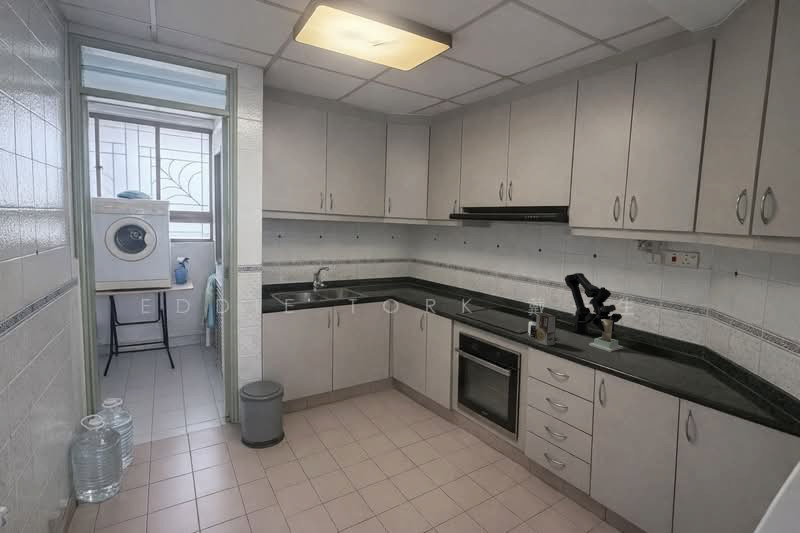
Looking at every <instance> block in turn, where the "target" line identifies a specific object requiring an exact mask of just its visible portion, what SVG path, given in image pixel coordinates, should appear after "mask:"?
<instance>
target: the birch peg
mask: <svg viewBox="0 0 800 533" xmlns="http://www.w3.org/2000/svg"><path fill="white" fill-rule="evenodd" d="M612 323H613V320H610V319H603V322H602V325H603V327H604V330H605V331H604V332H603V331H602V330H601V332H602V333H601V337H602V340H603V341H606V342H611V339H612V333H613V332H612Z"/></svg>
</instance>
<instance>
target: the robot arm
mask: <svg viewBox="0 0 800 533" xmlns="http://www.w3.org/2000/svg"><path fill="white" fill-rule="evenodd" d="M564 282H565V284H566V286H567V287H568V288H570V291H571V294H572V297H573V301H574V304H575V307H576V310H575V314H574V316H573V318H572V322H573V323H574V330H573V331H572V332H573V333H576V334H579V335H585V334H589V332H588V328H589V326H588V325H589V324H593V325H594V326H596V327H597V328H598V329H600V330H601V332H602V331H603V332H604V331H605V330H604V327H603V322H602V320H604V319H610V320H613V323H612V333H614V332H615V323H618V322H619V321H620V320H621V319H622V318H623V316H622V314H621V313H617V312H616V313H612V312H614V311H616V310H617V309H616V305H615V304H610V305H605V304H604V303H606V301H607V300H608V299H609V298H610V297H611V296H612V293H611V292H610V290H609V289H607V288H605V287H602V286H601V287H600V288H599V287H598V286H597V285H594V284H592V283H591V282H590V280H588V278H587V277H586V276H585V275H584V273H582V272H576V273H573V274H567V275H566V276H565V277H564ZM580 286H581V287H582V288H583V289H584V295H585V296H586V297H587V298H591V299H590V301H588V302H589V304H588V305H592V308H593V311H592V312H591V309H590V308H589V307H586V305H585V303H584V298H583V296H582V293H581V289H580ZM611 313H612V314H611ZM610 314H611V315H610Z"/></svg>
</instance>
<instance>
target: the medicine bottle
mask: <svg viewBox="0 0 800 533" xmlns="http://www.w3.org/2000/svg"><path fill="white" fill-rule="evenodd" d="M536 319H537V314H532V315H531V316H530V321H528V329H527V330H528V331H527V334H528V333H529V334H528V336H529V337H531V336H535V335H536Z"/></svg>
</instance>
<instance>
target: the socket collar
mask: <svg viewBox="0 0 800 533" xmlns="http://www.w3.org/2000/svg"><path fill="white" fill-rule="evenodd" d="M588 346H589V347H593V348H596V349H600V350H603V351H606V352H609V353H610V352H615V351H617V350H621V349H623V348H624V347H623V346H622V345H619V340H618V339H614V338H611V342H606V341H603V340H602V336H599V337H596V338H594V341H593V342H590V343H589V344H588Z"/></svg>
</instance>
